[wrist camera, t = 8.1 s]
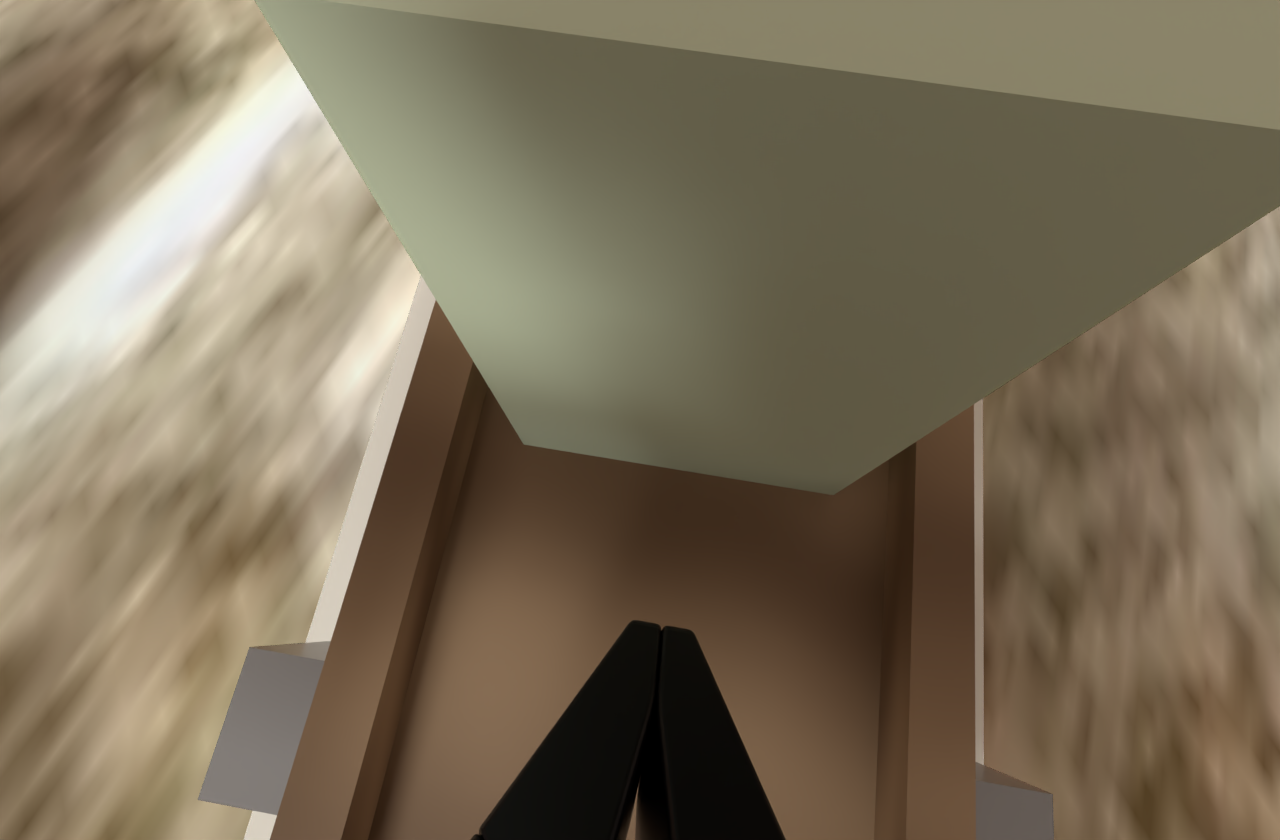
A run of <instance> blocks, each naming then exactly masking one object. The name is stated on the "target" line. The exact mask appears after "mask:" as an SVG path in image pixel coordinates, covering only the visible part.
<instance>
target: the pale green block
mask: <svg viewBox="0 0 1280 840" xmlns="http://www.w3.org/2000/svg"><path fill="white" fill-rule="evenodd" d="M255 2H256V4H257V5H258V7H259V8H260V10H261V12H262V13H263V15H264V17H265V18H266V20H267V22H268V23H269V25H270V27H271V28H272V30H273V32H274V33H275V35H276V37H277V38H278V40H279V41H280V43H281V45H282V46H283V48H284V50H285V51H286V53H287V55H288V56H289V58H290V60H291V61H292V63H293V65H294V66H295V68H296V70H297V71H298V73H299V75H300V76H301V78H302V79H303V81H304V83H305V84H306V86H307V88H308V89H309V91H310V93H311V94H312V96H313V98H314V99H315V101H316V103H317V104H318V106H319V108H320V109H321V111H322V112H323V114H324V116H325V117H326V119H327V121H328V122H329V124H330V126H331V127H332V129H333V131H334V132H335V134H336V136H337V137H338V139H339V141H340V142H341V144H342V145H343V147H344V149H345V150H346V152H347V154H348V155H349V157H350V159H351V160H352V162H353V164H354V165H355V167H356V169H357V170H358V172H359V174H360V175H361V177H362V178H363V180H364V182H365V183H366V185H367V187H368V188H369V190H370V192H371V193H372V195H373V197H374V198H375V200H376V202H377V203H378V205H379V207H380V208H381V210H382V211H383V213H384V215H385V216H386V218H387V220H388V221H389V223H390V225H391V226H392V228H393V230H394V231H395V233H396V235H397V236H398V238H399V240H400V241H401V243H402V245H403V246H404V248H405V249H406V251H407V253H408V254H409V256H410V258H411V259H412V261H413V263H414V264H415V266H416V268H417V269H418V271H419V273H420V274H421V276H422V278H423V279H424V281H425V282H426V284H427V286H428V287H429V289H430V291H431V292H432V294H433V296H434V297H435V299H436V301H437V302H438V304H439V306H440V307H441V309H442V311H443V312H444V314H445V315H446V317H447V319H448V320H449V322H450V324H451V325H452V327H453V329H454V330H455V332H456V334H457V335H458V337H459V339H460V340H461V342H462V344H463V345H464V347H465V348H466V350H467V352H468V353H469V355H470V357H471V358H472V360H473V362H474V363H475V365H476V367H477V368H478V370H479V372H480V373H481V375H482V377H483V378H484V380H485V381H486V383H487V385H488V386H489V388H490V390H491V391H492V393H493V395H494V396H495V398H496V400H497V401H498V403H499V405H500V406H501V408H502V410H503V411H504V413H505V415H506V416H507V418H508V419H509V421H510V423H511V424H512V426H513V428H514V429H515V431H516V433H517V434H518V436H519V438H520V439H521V441H522V443H523V444H524V445H530V446H536V447H542V448H548V449H554V450H560V451H566V452H572V453H579V454H585V455H591V456H597V457H603V458H609V459H615V460H621V461H627V462H633V463H640V464H646V465H652V466H658V467H664V468H670V469H676V470H682V471H688V472H695V473H701V474H707V475H713V476H719V477H725V478H731V479H737V480H743V481H749V482H756V483H762V484H768V485H774V486H780V487H786V488H792V489H798V490H804V491H810V492H817V493H823V494H829V495H835V494H836V493H838V492H839V491H841V490H842V489H844V488H845V487H847V486H849V485H850V484H852V483H853V482H855V481H856V480H858V479H859V478H861V477H862V476H864V475H865V474H867V473H869V472H870V471H872V470H873V469H875V468H876V467H878V466H879V465H881V464H882V463H884V462H886V461H887V460H889V459H890V458H892V457H893V456H895V455H896V454H898V453H899V452H901V451H903V450H904V449H906V448H907V447H909V446H910V445H912V444H913V443H915V442H916V441H918V440H919V439H921V438H923V437H924V436H926V435H927V434H929V433H930V432H932V431H933V430H935V429H936V428H938V427H940V426H941V425H943V424H944V423H946V422H947V421H949V420H950V419H952V418H953V417H955V416H957V415H958V414H960V413H961V412H963V411H964V410H966V409H967V408H969V407H970V406H972V405H973V404H975V403H977V402H978V401H980V400H981V399H983V398H984V397H986V396H987V395H989V394H990V393H992V392H994V391H995V390H997V389H998V388H1000V387H1001V386H1003V385H1004V384H1006V383H1007V382H1009V381H1011V380H1012V379H1014V378H1015V377H1017V376H1018V375H1020V374H1021V373H1023V372H1024V371H1026V370H1027V369H1029V368H1031V367H1032V366H1034V365H1035V364H1037V363H1038V362H1040V361H1041V360H1043V359H1044V358H1046V357H1048V356H1049V355H1051V354H1052V353H1054V352H1055V351H1057V350H1058V349H1060V348H1061V347H1063V346H1065V345H1066V344H1068V343H1069V342H1071V341H1072V340H1074V339H1075V338H1077V337H1078V336H1080V335H1081V334H1083V333H1085V332H1086V331H1088V330H1089V329H1091V328H1092V327H1094V326H1095V325H1097V324H1098V323H1100V322H1102V321H1103V320H1105V319H1106V318H1108V317H1109V316H1111V315H1112V314H1114V313H1115V312H1117V311H1119V310H1120V309H1122V308H1123V307H1125V306H1126V305H1128V304H1129V303H1131V302H1132V301H1134V300H1136V299H1137V298H1139V297H1140V296H1142V295H1143V294H1145V293H1146V292H1148V291H1149V290H1151V289H1152V288H1154V287H1156V286H1157V285H1159V284H1160V283H1162V282H1163V281H1165V280H1166V279H1168V278H1169V277H1171V276H1173V275H1174V274H1176V273H1177V272H1179V271H1180V270H1182V269H1183V268H1185V267H1186V266H1188V265H1190V264H1191V263H1193V262H1194V261H1196V260H1197V259H1199V258H1200V257H1202V256H1203V255H1205V254H1206V253H1208V252H1210V251H1211V250H1213V249H1214V248H1216V247H1217V246H1219V245H1220V244H1222V243H1223V242H1225V241H1227V240H1228V239H1230V238H1231V237H1233V236H1234V235H1236V234H1237V233H1239V232H1240V231H1242V230H1244V229H1245V228H1247V227H1248V226H1250V225H1251V224H1253V223H1254V222H1256V221H1257V220H1259V219H1260V218H1262V217H1264V216H1265V215H1267V214H1268V213H1270V212H1271V211H1273V210H1274V209H1276V208H1277V207H1279V206H1280V0H255Z"/></svg>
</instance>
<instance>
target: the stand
mask: <svg viewBox="0 0 1280 840" xmlns="http://www.w3.org/2000/svg"><path fill="white" fill-rule="evenodd" d="M435 301H436V299H435V297H434V296H433V294H432V292H431V291H430V289H429V287H428V286H427V284H426V282H425V281H424V279H423V278H422V276H421V277H420V280H419V283H418V286H417V289H416V292H415V296H414V299H413V302H412V305H411V308H410V312H409V315H408V318H407V321H406V324H405V327H404V331H403V334H402V337H401V340H400V343H399V347H398V350H397V353H396V356H395V359H394V362H393V366H392V369H391V372H390V375H389V378H388V382H387V385H386V388H385V391H384V394H383V398H382V401H381V404H380V407H379V410H378V413H377V417H376V420H375V423H374V426H373V429H372V433H371V436H370V439H369V442H368V445H367V448H366V452H365V455H364V458H363V461H362V464H361V468H360V471H359V474H358V477H357V480H356V483H355V487H354V490H353V493H352V496H351V499H350V503H349V506H348V509H347V512H346V515H345V518H344V522H343V525H342V528H341V531H340V534H339V538H338V541H337V544H336V547H335V550H334V553H333V557H332V560H331V563H330V566H329V569H328V573H327V576H326V579H325V582H324V585H323V589H322V592H321V595H320V598H319V601H318V604H317V608H316V611H315V614H314V617H313V620H312V624H311V627H310V630H309V633H308V636H307V639H306V643H297V644H284V645H271V646H258V647H249V650H248V653H247V656H246V659H245V662H244V665H243V668H242V671H241V674H240V677H239V680H238V683H237V686H236V688H235V691H234V694H233V697H232V700H231V703H230V706H229V709H228V712H227V715H226V718H225V721H224V724H223V727H222V730H221V733H220V736H219V739H218V742H217V744H216V747H215V750H214V753H213V756H212V759H211V762H210V765H209V768H208V771H207V774H206V777H205V780H204V783H203V786H202V789H201V792H200V795H199V797H198V800H201V801H206V802H211V803H217V804H222V805H227V806H232V807H237V808H242V809H247V810H252V815H251V818H250V821H249V824H248V827H247V830H246V834H245V837H244V840H270V837H271V834H272V830H273V827H274V824H275V821H276V817H277V814H278V811H279V808H280V804H281V801H282V798H283V795H284V791H285V788H286V785H287V782H288V778H289V775H290V772H291V769H292V765H293V762H294V759H295V756H296V752H297V749H298V746H299V743H300V739H301V736H302V733H303V730H304V726H305V723H306V720H307V717H308V713H309V710H310V707H311V704H312V700H313V697H314V694H315V691H316V687H317V684H318V681H319V678H320V674H321V671H322V668H323V665H324V661H325V658H326V655H327V652H328V648H329V645H330V642H331V639H332V635H333V632H334V629H335V626H336V622H337V619H338V616H339V613H340V609H341V606H342V603H343V600H344V596H345V593H346V590H347V587H348V583H349V580H350V577H351V574H352V570H353V567H354V564H355V561H356V557H357V554H358V551H359V548H360V544H361V541H362V538H363V535H364V531H365V528H366V525H367V522H368V518H369V515H370V512H371V509H372V505H373V502H374V499H375V496H376V492H377V489H378V486H379V483H380V479H381V476H382V473H383V470H384V466H385V463H386V460H387V457H388V453H389V450H390V447H391V444H392V440H393V437H394V434H395V431H396V427H397V424H398V421H399V418H400V414H401V411H402V408H403V405H404V401H405V398H406V395H407V392H408V388H409V385H410V382H411V379H412V375H413V372H414V369H415V366H416V362H417V359H418V356H419V353H420V349H421V346H422V343H423V340H424V336H425V333H426V330H427V327H428V323H429V320H430V317H431V314H432V310H433V307H434V304H435ZM974 537H975V764H976V840H1054V821H1053V794H1051V793H1048V792H1046V791H1044V790H1041V789H1039V788H1037V787H1034V786H1032V785H1029V784H1027V783H1025V782H1022V781H1020V780H1018V779H1015V778H1013V777H1011V776H1008V775H1006V774H1004V773H1001V772H999V771H996V770H994V769H992V768H989V767H987V766H985V765H984V612H983V399H981V400H980V401H978V402H977V403H975V404H974Z"/></svg>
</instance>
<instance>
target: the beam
mask: <svg viewBox="0 0 1280 840" xmlns="http://www.w3.org/2000/svg"><path fill="white" fill-rule="evenodd" d="M632 620H639V621H645V622H651V623H656V624H659V625H660V627H661V630H662V628H663V627H664V626H673V627H679V628H685V629H690V630H691V631H693V632H694V634H695V636H696V638H697V640H698V642H699V644H700V647H701V649H702V651H703V653H704V656H705V658H706V660H707V663H708V665H709V667H710V669H711V672H712V674H713V676H714V678H715V681H716V683H717V685H718V687H719V690H720V692H721V694H722V696H723V699H724V701H725V703H726V705H727V708H728V710H729V712H730V714H731V717H732V719H733V721H734V723H735V726H736V728H737V730H738V733H739V735H740V737H741V739H742V742H743V744H744V746H745V748H746V751H747V753H748V755H749V757H750V760H751V762H752V764H753V766H754V769H755V771H756V773H757V775H758V778H759V780H760V782H761V784H762V787H763V789H764V791H765V793H766V796H767V798H768V800H769V802H770V805H771V807H772V809H773V812H774V814H775V816H776V818H777V821H778V823H779V825H780V827H781V830H782V832H783V834H784V836H785V839H786V840H976V764H975V537H974V404H973V405H972V406H970V407H969V408H967V409H966V410H964V411H963V412H961V413H960V414H958V415H957V416H955V417H953V418H952V419H950V420H949V421H947V422H946V423H944V424H943V425H941V426H940V427H938V428H936V429H935V430H933V431H932V432H930V433H929V434H927V435H926V436H924V437H923V438H921V439H919V440H918V441H916V442H915V443H913V444H912V445H910V446H909V447H907V448H906V449H904V450H903V451H901V452H899V453H898V454H896V455H895V456H893V457H892V458H890V459H889V460H887V461H886V462H884V463H882V464H881V465H879V466H878V467H876V468H875V469H873V470H872V471H870V472H869V473H867V474H865V475H864V476H862V477H861V478H859V479H858V480H856V481H855V482H853V483H852V484H850V485H849V486H847V487H845V488H844V489H842V490H841V491H839V492H838V493H836V494H835V495H829V494H823V493H817V492H810V491H804V490H798V489H792V488H786V487H780V486H774V485H768V484H762V483H756V482H749V481H743V480H737V479H731V478H725V477H719V476H713V475H707V474H701V473H695V472H688V471H682V470H676V469H670V468H664V467H658V466H652V465H646V464H640V463H633V462H627V461H621V460H615V459H609V458H603V457H597V456H591V455H585V454H579V453H572V452H566V451H560V450H554V449H548V448H542V447H536V446H530V445H524V444H523V443H522V441H521V439H520V438H519V436H518V434H517V433H516V431H515V429H514V428H513V426H512V424H511V423H510V421H509V419H508V418H507V416H506V415H505V413H504V411H503V410H502V408H501V406H500V405H499V403H498V401H497V400H496V398H495V396H494V395H493V393H492V391H491V390H490V388H489V386H488V385H487V383H486V381H485V380H484V378H483V377H482V375H481V373H480V372H479V370H478V368H477V367H476V365H475V363H474V362H473V360H472V358H471V357H470V355H469V353H468V352H467V350H466V348H465V347H464V345H463V344H462V342H461V340H460V339H459V337H458V335H457V334H456V332H455V330H454V329H453V327H452V325H451V324H450V322H449V320H448V319H447V317H446V315H445V314H444V312H443V311H442V309H441V307H440V306H439V304H438V302H437V301H435V304H434V307H433V310H432V314H431V317H430V320H429V323H428V327H427V330H426V333H425V336H424V340H423V343H422V346H421V349H420V353H419V356H418V359H417V362H416V366H415V369H414V372H413V375H412V379H411V382H410V385H409V388H408V392H407V395H406V398H405V401H404V405H403V408H402V411H401V414H400V418H399V421H398V424H397V427H396V431H395V434H394V437H393V440H392V444H391V447H390V450H389V453H388V457H387V460H386V463H385V466H384V470H383V473H382V476H381V479H380V483H379V486H378V489H377V492H376V496H375V499H374V502H373V505H372V509H371V512H370V515H369V518H368V522H367V525H366V528H365V531H364V535H363V538H362V541H361V544H360V548H359V551H358V554H357V557H356V561H355V564H354V567H353V570H352V574H351V577H350V580H349V583H348V587H347V590H346V593H345V596H344V600H343V603H342V606H341V609H340V613H339V616H338V619H337V622H336V626H335V629H334V632H333V635H332V639H331V642H330V645H329V648H328V652H327V655H326V658H325V661H324V665H323V668H322V671H321V674H320V678H319V681H318V684H317V687H316V691H315V694H314V697H313V700H312V704H311V707H310V710H309V713H308V717H307V720H306V723H305V726H304V730H303V733H302V736H301V739H300V743H299V746H298V749H297V752H296V756H295V759H294V762H293V765H292V769H291V772H290V775H289V778H288V782H287V785H286V788H285V791H284V795H283V798H282V801H281V804H280V808H279V811H278V814H277V817H276V821H275V824H274V827H273V830H272V834H271V837H270V840H470V839H471V838H472V837H473V836H474V835H475V834H479V828H480V826H481V825H482V824H483V822H484V821H485V820H486V818H487V817H488V815H489V814H490V813H491V811H492V810H493V809H494V807H495V806H496V804H497V803H498V802H499V800H500V799H501V798H502V796H503V795H504V793H505V792H506V791H507V789H508V788H509V787H510V785H511V784H512V782H513V781H514V780H515V778H516V777H517V776H518V774H519V773H520V772H521V770H522V769H523V767H524V766H525V765H526V763H527V762H528V761H529V759H530V758H531V756H532V755H533V754H534V752H535V751H536V750H537V748H538V747H539V745H540V744H541V743H542V741H543V740H544V739H545V737H546V736H547V734H548V733H549V732H550V730H551V729H552V728H553V726H554V725H555V724H556V722H557V721H558V719H559V718H560V717H561V715H562V714H563V713H564V711H565V710H566V708H567V707H568V706H569V704H570V703H571V702H572V700H573V699H574V697H575V696H576V695H577V693H578V692H579V691H580V689H581V688H582V686H583V685H584V684H585V682H586V681H587V680H588V678H589V677H590V675H591V674H592V673H593V671H594V670H595V669H596V667H597V666H598V665H599V663H600V662H601V660H602V659H603V658H604V656H605V655H606V654H607V652H608V651H609V649H610V648H611V647H612V645H613V644H614V643H615V641H616V640H617V638H618V637H619V636H620V634H621V633H622V632H623V630H624V629H625V627H626V626H627V625H628V624H629V623H630V622H631V621H632ZM637 793H638V789H637ZM636 803H637V794H636V799H635V804H634V809H633V813H632V818H631V822H630V826H629V830H628V834H627V838H626V840H635V827H636Z"/></svg>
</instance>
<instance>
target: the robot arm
mask: <svg viewBox="0 0 1280 840" xmlns="http://www.w3.org/2000/svg"><path fill="white" fill-rule="evenodd" d="M637 789H638V793H637ZM636 794H637V803H636V827H635V840H786V839H785V836H784V834H783V832H782V830H781V827H780V825H779V823H778V821H777V818H776V816H775V814H774V812H773V809H772V807H771V805H770V802H769V800H768V798H767V796H766V793H765V791H764V789H763V787H762V784H761V782H760V780H759V778H758V775H757V773H756V771H755V769H754V766H753V764H752V762H751V760H750V757H749V755H748V753H747V751H746V748H745V746H744V744H743V742H742V739H741V737H740V735H739V733H738V730H737V728H736V726H735V723H734V721H733V719H732V717H731V714H730V712H729V710H728V708H727V705H726V703H725V701H724V699H723V696H722V694H721V692H720V690H719V687H718V685H717V683H716V681H715V678H714V676H713V674H712V672H711V669H710V667H709V665H708V663H707V660H706V658H705V656H704V653H703V651H702V649H701V647H700V644H699V642H698V640H697V638H696V636H695V634H694V632H693V631H691V630H690V629H685V628H679V627H673V626H664V627H663V628H662V630H661V627H660V625H659V624H656V623H651V622H645V621H639V620H632V621H631V622H630V623H629V624H628V625H627V626H626V627H625V629H624V630H623V632H622V633H621V634H620V636H619V637H618V638H617V640H616V641H615V643H614V644H613V645H612V647H611V648H610V649H609V651H608V652H607V654H606V655H605V656H604V658H603V659H602V660H601V662H600V663H599V665H598V666H597V667H596V669H595V670H594V671H593V673H592V674H591V675H590V677H589V678H588V680H587V681H586V682H585V684H584V685H583V686H582V688H581V689H580V691H579V692H578V693H577V695H576V696H575V697H574V699H573V700H572V702H571V703H570V704H569V706H568V707H567V708H566V710H565V711H564V713H563V714H562V715H561V717H560V718H559V719H558V721H557V722H556V724H555V725H554V726H553V728H552V729H551V730H550V732H549V733H548V734H547V736H546V737H545V739H544V740H543V741H542V743H541V744H540V745H539V747H538V748H537V750H536V751H535V752H534V754H533V755H532V756H531V758H530V759H529V761H528V762H527V763H526V765H525V766H524V767H523V769H522V770H521V772H520V773H519V774H518V776H517V777H516V778H515V780H514V781H513V782H512V784H511V785H510V787H509V788H508V789H507V791H506V792H505V793H504V795H503V796H502V798H501V799H500V800H499V802H498V803H497V804H496V806H495V807H494V809H493V810H492V811H491V813H490V814H489V815H488V817H487V818H486V820H485V821H484V822H483V824H482V825H481V826H480V828H479V834H475V835H474V836H473V837H472V838H471V839H470V840H626V838H627V834H628V830H629V826H630V822H631V818H632V813H633V809H634V804H635V799H636Z"/></svg>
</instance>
